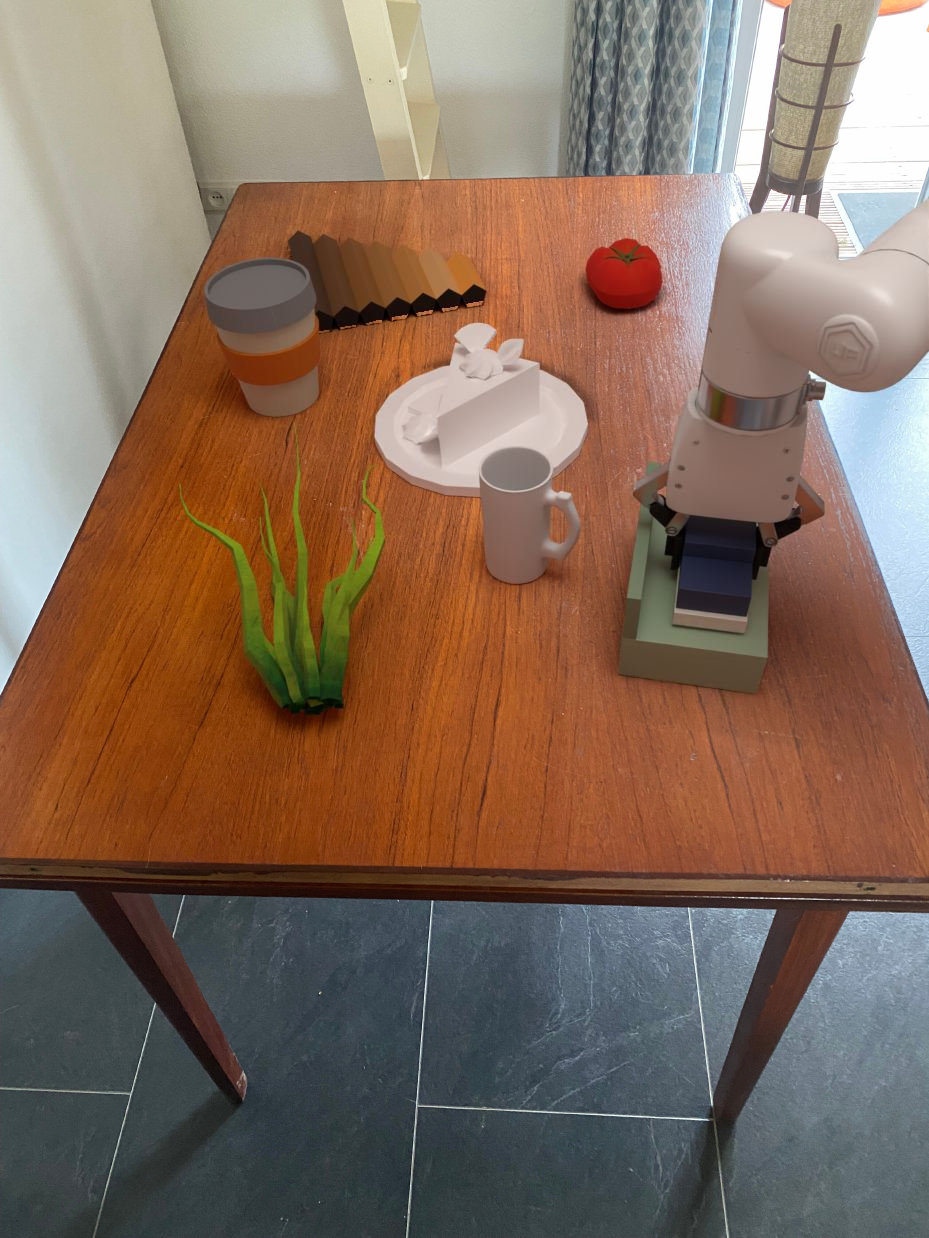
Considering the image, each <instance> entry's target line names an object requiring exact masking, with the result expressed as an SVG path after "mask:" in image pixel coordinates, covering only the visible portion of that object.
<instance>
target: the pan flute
mask: <svg viewBox="0 0 929 1238" xmlns="http://www.w3.org/2000/svg"><path fill="white" fill-rule="evenodd" d="M287 243H288V248H289V251H290V256H291V260H292V261H295V262H298V263H300V264H301V265H303V266H304V267H305V268H306V269H307V270H308V272H309V274H310V277H311V281H312V284H313V287H314V291H315V294H316V304H315V307H314V311H315V315H316V316H317V318H318V320H319V331H324V330H330V329H331V330H332V329H333V328H332V327H333V322H334V321H335V322H336V324H337V327H338V328H339V327H345V326H352V325H356V324H357V325H358V323H359V317H360V316H361V319H362V321H363V322H364V324H365V323H369V322H373V321H376V320H384V315H385V312H387V314H388V317H389V318H390V319H391V318H392V317H395V316H402V315H407V314H408V315H409V314H410V310H411V307H412V309H413V311H414V313H415V314H416V313H418V312H424V311H429V310H435V307H436V303H437V304H438V306H439V309H440V310H441V309H442V308H450V307H455V306H460V303H461V300H462V301H463V302H465V303H464V305H465V304H468V303H473V302H479V301H484V302H485V299H486V295H487V291H488V290H487V288H486V286H485V284H484V283H483V280H482V279H481V276H480V275H479V273H478V272H477V269H476V267H475V265H474V264H473V262H472V260H471V258H470V257H468V256H466V255H464V254H462V253H461V252H459V251H456V252H455V253H454V254H453V255H452V256H450V257H449V259H448V260H445V257H444V255H443V253H440V252H439V251H436V250H435V249H433V248H430V247H428V248H427V250H425V251H424V252H423V254H421V255H420V256H419V257H418V255H417V252H416V250H414V249H412V248H410V247H408V246H406V245H404V244H401V245H399V247H397V248H396V249H395V250H394V251H393V252H392V253H391V250H390V248H389V247H388V246H387V245H384V244H383V243H381V242H378V241H377V240H375V241H373V242H372V243H371V244H370V245H369V246H368V247H367V248H366V249H365V248H364V245H363V243H361V242H360V241H358V240H356V239H354V238H352V237H350V236H349V237H347V238H346V239H345V240H344V241H343V242H342V243H341V245H340V246H339V244H338V241H337V240H336V239H334V238H333V237H331V236H328V235H327V234H326V233H322V234H321V235H320V236H319V237H318V238H317V239H316V240H315V241H314V242H313V239H312V236H310V235H309V234H306V233H304V232H302V231H300V230H296V231H295V232H294V234H292V235H291V236H290V238H288V239H287ZM333 320H334V321H333Z"/></svg>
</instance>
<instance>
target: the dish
mask: <svg viewBox="0 0 929 1238" xmlns="http://www.w3.org/2000/svg"><path fill="white" fill-rule="evenodd" d="M497 334H498V330H497V329H496V328H495V327H493V326H491V325H490V324H488V323H483V322H473V323H469V324H466V325H464V326H463V327H460V329H458V331H456V333H455V334H454V335H453V337H454V338H455V340H456V341H457V342H454V347H453V351H452V356H451V359H450V364H449V365H444V366H440V367H437V368H435V369H433V370H430V371H428V372H424V373H422V374H419V375H417V376H414V377H412V378H411V379H409V380H407V382H405V383H403V385H400V386H399V387H397V389H395V390H394V391H392V392H390V393H389V394H388V396H387V398H386V399H385V401H384V402H383V403H382V405H381V406H380V408H379V410H378V411H377V413H376V414H375V424H374V443H375V447H376V449H377V451H378V453H379V454H380V456H381V458H382V460H383V462H384V464H385V465H386V467H387V468H388V469H389V470H391V471H392V472H393V473H395V474H396V475H398V476H399V477H400V478H401V479H403V480H405V481H406V482H407V483H409V484H410V485H412V486H414V487H419V488H421V489H424V490H428V491H431V492H434V493H437V494H440V495H443V496H450V497H451V496H452V497H454V496H455V497H471V498H481V496H480V482H479V464H480V462H481V460H482V459H483V458H484V457H485V456H486V455H487V454H489V453H490V452H492V451H494V450H496V449H499V448H503V447H508V446H525V447H530V448H534V449H537V450H539V451H541V452H542V453H544V454H545V455H546V456H547V457H548V458H549V459H550V460H551V462H552V465H553V478H556V477H557V476H558V475H560V474H561V473H562V472H563V471H564V470H565V469H566V468H567V467H568V466H570V465H571V464H572V463H573V462H574V461H575V460H576V459H577V458H578V457H579V456H580V453H581V450H582V449H583V446H584V443H585V441H586V438H587V436H588V429H589V424H588V423H589V422H588V417H587V413H586V408H585V403H584V401H583V400H582V398H580V397H579V395H578V394H577V393H576V391H574V390H573V388H572V387H571V386H570V385H569V384H568V383H567V382H565V381H564V380H561V379H560V378H557V377H556V376H554V375H552V374H550V373H549V372H547V371H545V370H543V369H540V368H541V367H540V366H541V365H540V362H537V361H533V360H529V359H525V358H522V357H521V355H522V354H523V348H524V344H525V340H524V338H509V339H507V340H505V341H502V342H501V344H500V346H499V348H498V350H497V351H496V350H494V349H490V348H487V347H488V346H489V344H490V343H491V342H492V340H493V339H494V338H495V337H496V335H497Z"/></svg>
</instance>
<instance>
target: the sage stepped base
mask: <svg viewBox="0 0 929 1238" xmlns="http://www.w3.org/2000/svg"><path fill="white" fill-rule="evenodd" d="M660 466H661V462H656V461H647V462H646V468H645V473H644V474H645V476H646V475H648V474H649V473H651V472H652V471H654V470H656V469H657V468H659V467H660ZM637 520H638V521H637V527H636V534H635V540H634V547H633V553H632V558H631V560H632V561H631V567H630V573H629V578H628V585H627V592H626V598H625V608H624V618H623V625H622V634H621V642H620V651H619V662H618V671H617V675H620V676H626V677H633V678H641V679H648V680H655V681H661V682H669V683H676V684H682V685H689V686H698V687H704V688H710V689H718V690H724V691H732V692H739V693H747V694H752V695H757V694H758V691H759V688H760V684H761V681H762V678H763V674H764V671H765V668H766V665H767V661H768V658H769V580H770V579H769V577H770V576H769V574H770V571H769V570H770V567H769V565H770V560H769V561H768V564H767V567H760V568H759V572H758V575H757V579H756V580H752V597H751V601H750V605H749V609H748V618H747V625H746V629H745V633H738V632H730V631H722V630H715V629H707V628H699V627H692V626H684V625H676V624H672V620H673V611H674V601H675V592H676V582H677V573H678V569H676V570H670V569H671V560H672V556H666V555H664V554H665V546H666V539H667V534H666V533H665V527H663V526H662V525H661V524H660V523H659V522H658V521H657V520H656V519H655V518H654V517H653V516H652V515H651V514H650V512H649V509H648V508H647V507H646V508H645V507H644V506H643V505H642V504H641V503H640V508H639V514H638V519H637ZM757 526H758V523H757Z"/></svg>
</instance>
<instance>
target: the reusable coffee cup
mask: <svg viewBox="0 0 929 1238" xmlns="http://www.w3.org/2000/svg"><path fill="white" fill-rule="evenodd" d="M203 294H204V299H205V300H204V301H205V306H206V311H207V316H208V319H209V321H210V322H211V323H212V324H213V325H214V328H215V329H216V340H217V343H218V345H219V348H220V349H221V352H222V354H223V357H224V359H225V361H226V364H227V366H228V368H229V370H230V373H231V374H232V375H233V377H234V378H236V379H237V381H238V383H239V385H240V387H241V390H242V392H243V395H244V397H245V400H246V402H247V404H248V406H249V408H250V409H251V410H252V411H253V412H254V413H257V414H259V415H262V416H265V417H270V418H271V417H275V418H278V417H287V416H293V415H296V414H298V413H301V412H303V411H305V410H306V409H308V408H310V407H312V405H314V403H315V402H316V401H317V400H318V398H319V395H320V386H319V383H320V382H319V367H318V364H319V363H320V359H321V341H320V334H319V320H318V318H317V316H316V315H315V311H314V307H315V304H316V294H315V291H314V287H313V284H312V281H311V277H310V274H309V272H308V270H307V269H306V268H305V267H304V266H303V265H301V264H300V263H298V262H295V261H293V260H292V259H287V258H283V257H258V258H251V259H246V260H242V261H238V262H235V263H232V264H230V265H228V266H225V267H223V268H221V269H220V270H218V271H217V272H215V273H214V274H213V275H211V276H210V277H209V278H208V279H207V281H206V283H204V289H203Z"/></svg>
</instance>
